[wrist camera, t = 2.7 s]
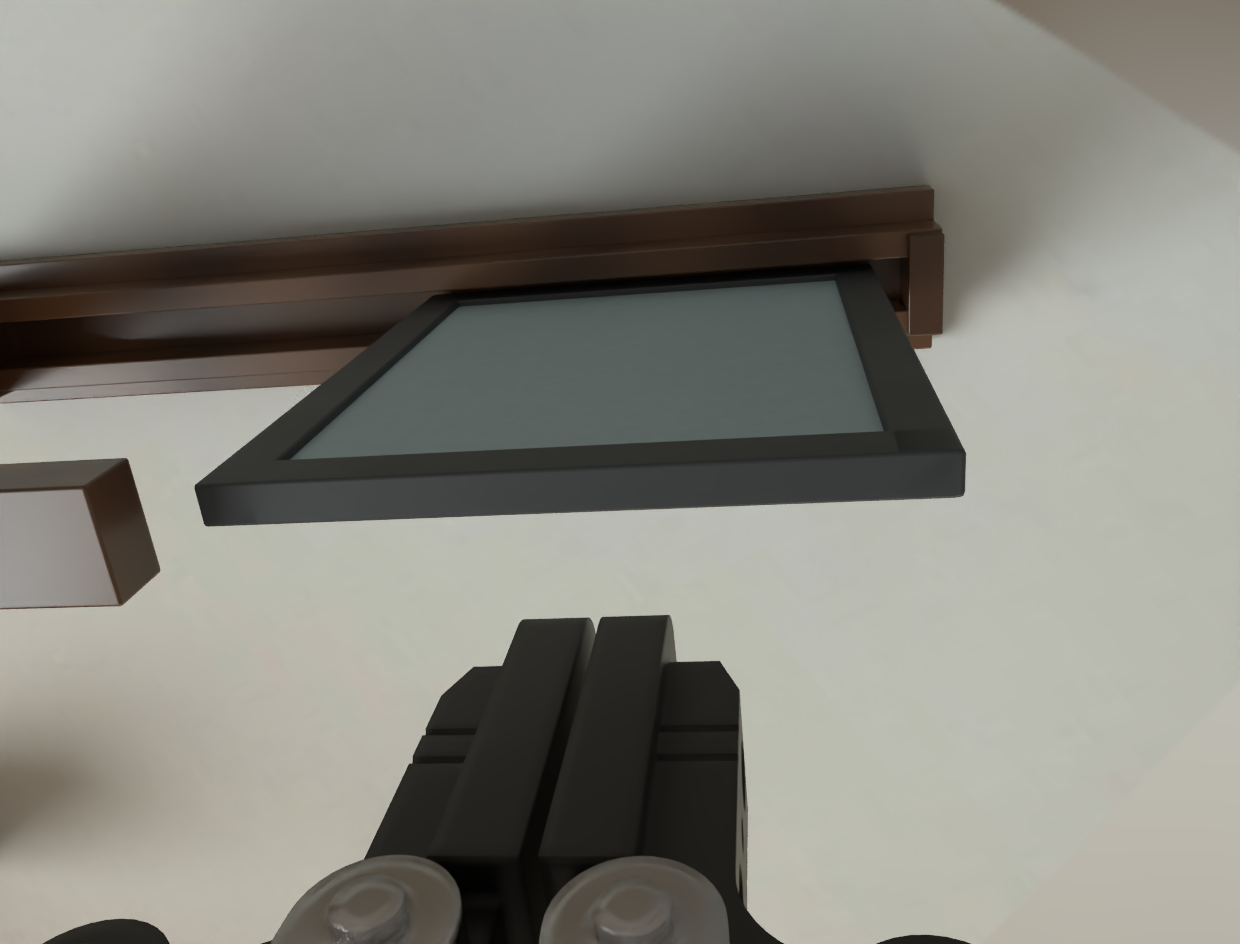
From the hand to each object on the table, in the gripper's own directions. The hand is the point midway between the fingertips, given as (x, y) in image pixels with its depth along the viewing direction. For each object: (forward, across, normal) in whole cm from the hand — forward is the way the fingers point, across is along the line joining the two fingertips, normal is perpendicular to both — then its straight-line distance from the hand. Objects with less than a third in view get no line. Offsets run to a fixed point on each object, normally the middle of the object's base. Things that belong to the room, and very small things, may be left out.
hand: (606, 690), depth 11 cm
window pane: (+24, +2, +1) cm, 24 cm away
